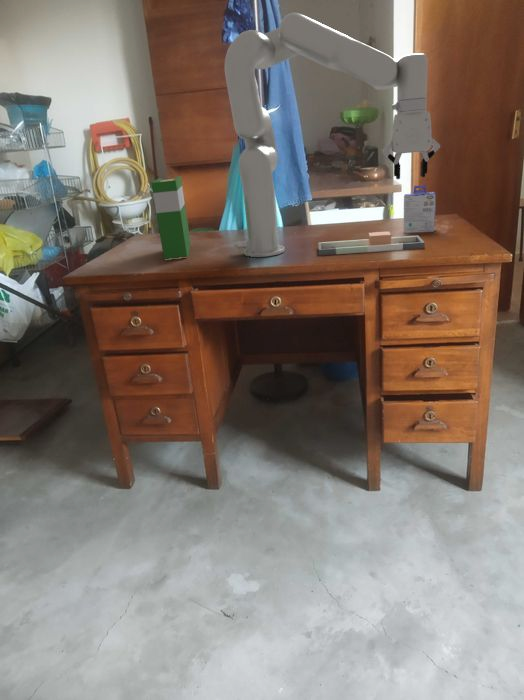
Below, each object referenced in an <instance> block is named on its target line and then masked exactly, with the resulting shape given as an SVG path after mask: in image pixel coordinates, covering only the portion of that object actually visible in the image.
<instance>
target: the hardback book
mask: <svg viewBox="0 0 524 700" xmlns="http://www.w3.org/2000/svg"><path fill="white" fill-rule="evenodd" d="M150 185H151V191H152V195H153V201H154V208H155V213H156V219H157V225H158V230H159V231H158V232H159V237H160V242H161V244H160V245H161V248H162V249H161V251H162V254H163V255H162V256H163V260H164V259H169V258H179V257H187V256H188V257H189V255H188V253H189V254H190V252H189V249H190V246H191V247H192V244H191V237H190V230H189V223H188V217H187V209H186V203H185V197H184V196H185V195H184V189H183V182H182V176H181V175H178V176H177V177H174V178H171V179H170V178H169V179H168V178H167V179H162V177H159V178H156V179H155V180H154V181H152V182H151V183H150ZM190 250H191V249H190Z"/></svg>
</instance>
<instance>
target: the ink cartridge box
mask: <svg viewBox="0 0 524 700" xmlns="http://www.w3.org/2000/svg"><path fill="white" fill-rule="evenodd" d="M420 188H422V189H420ZM426 189H427V188H426V185H425V184H424V185H414V186H413V193H405V194H404V196H403V233H405V234H406V233H409V234H410V233H431V232H435V227H436V226H435V225H436V208H437V207H436V206H437V204H436V202H437V201H436V199H437V198H436V196H437V194H436V192H435V191H430V192H427V190H426Z"/></svg>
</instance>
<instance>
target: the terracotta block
mask: <svg viewBox="0 0 524 700" xmlns="http://www.w3.org/2000/svg"><path fill="white" fill-rule="evenodd" d="M391 237H392V234H391V232H390V231H376V232H375V231H374V232H368V239H369V246H372V245H386V244H391Z"/></svg>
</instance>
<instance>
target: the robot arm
mask: <svg viewBox="0 0 524 700" xmlns="http://www.w3.org/2000/svg"><path fill="white" fill-rule="evenodd" d="M299 55H300V56H302V57H304V58H306V59H309V60H311V61H313V62H315V63H316V64H319V65H321V66H323V67H325V68H327V69H330V70H333V71H339V72H343V73H345V74H347V75H349V76H352V77H354V78H356V79H358V80H359V81H362V82H364V83H367V84H368V85H370V86H372V88H374V89H375V90H377V91H378V90H379V91H384V90H388V89H392V88H396V87H397V90H396V92H397V94H396V96H397V99H396V102H395V103H394V104H391V110H392V111H395V112H396V114H394V117H393V122H392V123H393V124H392V133H391V140H390V141H389V142H388V143H387V145H386V146H385V147H384V148H382V150H381V153H382V154H383V155H384V157H386V158H387V159H388V160H389V161H390V162H391V163H392V164H393V177H395V178H396V180H400V179H401V164H400V159H401V157H402V154H410V153H420V156H421V162H420V173H419V174H420V177H422V178H426V175H427V174H428V162H429V161H430V159H431V158H432V157H433V156H434V155H435V153H436V152H437V151H439V149H440V148H441V144H440V143H439V142H438V141H436V140H435V139H434V137H433V136H432V119H431V112H430V110H428V111H427V101H428V100H427V97H428V96H427V94H428V69H429V68H428V67H429V65H428V64H429V63H428V62H429V61H428V56H427V54H425V53H410V54H406V55H403V56H401V57H400V58H393V57H392V56H390V55H388V54H387V53H384V52H382V51H380V50H378V49H376V48H374V47H372V46H370V45H367V44H365V43H363V42H361V41H360V40H359V41H358V40H356V39H354V38H353V37H350V36H348V35H346V34H344V33H342V32H340V31H338V30H335V29H333V28H331V27H329V26H327V25H325V24H322V23H321V22H319V21H317V20H315V19H312V18H310V17H308V16H306V15H304V14H301V13H298V12H291V13H288V14H286V15H285V16H283V18H282V20H281V21H280V24H279V26H278V27H277V28H275V29H272V30H270V31H268V32H266V33H262V32H260V31H259V30H255V29H249V30H245V31H242V32H241V33H240V34H238V35H237V36H236V37H235V38H234V39H233V41H232V42H231V43H230V45H229V46H228V49H227V51H226V54H225V58H224V75H225V81H226V88H227V93H228V99H229V103H230V104H229V105H230V110H231V114H232V122H233V127H234V131H235V133H236V135H237V136H238V137H239V138H240V139H242V140H243V142H244V147H245V148H244V149H243V150H242V152H241V154H240V156H239V160H238V172H239V177H240V183H241V186H242V194H243V204H244V213H245V214H244V215H245V223H246V234H247V239H246V240H244V241H235V242H234V248H235V249H245V250H244V251H243V252H244V253H243V254H244V255H245V256H246V257H249V256H250V258H265V257H271V256H272V257H273V256H276V255H280V254H282V253H284V252H285V247H284V246H283V245H280V242H279V241H280V239H279V228H278V227H279V226H278V216H277V204H276V203H277V202H276V191H275V185H274V178H273V172H274V171H275V170H276V168H277V166H278V160H279V157H278V150H277V143H276V137H275V132H274V126H273V122H272V118H271V115H270V114H269V112H268V110H267V109H265V107H263V106H262V104H261V103H262V102H261V99H260V93H259V85H258V82H257V79H256V70H266V69H269V68H271V67H273V66H276V65H278V64H281V63H283V62H286V61H288V60H290V59H292V58H294V57H295V58H296V57H297V56H299ZM432 146H433V147H432ZM390 149H391V151H392V152H393V153H395V154H394V155H393V154H392V153H390Z"/></svg>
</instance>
